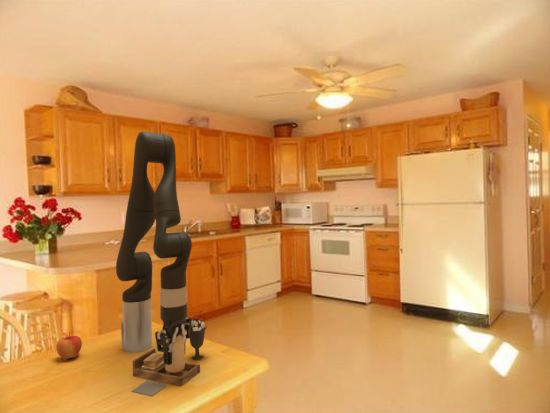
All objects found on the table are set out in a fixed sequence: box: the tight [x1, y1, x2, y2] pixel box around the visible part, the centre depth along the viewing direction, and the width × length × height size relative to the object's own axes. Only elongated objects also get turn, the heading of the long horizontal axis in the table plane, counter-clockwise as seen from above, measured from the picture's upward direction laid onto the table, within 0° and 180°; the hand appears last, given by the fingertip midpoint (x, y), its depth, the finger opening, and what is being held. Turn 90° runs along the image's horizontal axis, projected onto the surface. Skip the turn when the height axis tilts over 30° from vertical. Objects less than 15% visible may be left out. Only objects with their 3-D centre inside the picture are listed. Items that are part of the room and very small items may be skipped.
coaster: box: [130, 380, 168, 397], centre depth 103 cm, size 7×6×1 cm
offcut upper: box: [144, 352, 164, 368], centre depth 113 cm, size 4×5×2 cm
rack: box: [132, 348, 201, 387], centre depth 111 cm, size 17×9×5 cm, turn 67°
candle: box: [165, 335, 186, 373], centre depth 110 cm, size 6×6×10 cm
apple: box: [55, 332, 83, 361], centre depth 125 cm, size 7×7×8 cm
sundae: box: [185, 310, 208, 361], centre depth 122 cm, size 7×7×15 cm
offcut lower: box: [141, 361, 165, 372], centre depth 113 cm, size 4×6×2 cm
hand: (174, 359), depth 110 cm, fingers closed on candle, 5 cm apart
